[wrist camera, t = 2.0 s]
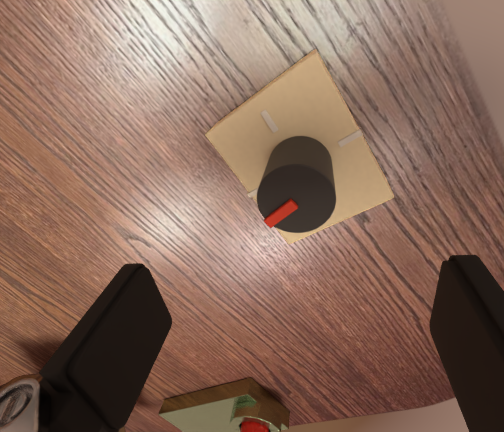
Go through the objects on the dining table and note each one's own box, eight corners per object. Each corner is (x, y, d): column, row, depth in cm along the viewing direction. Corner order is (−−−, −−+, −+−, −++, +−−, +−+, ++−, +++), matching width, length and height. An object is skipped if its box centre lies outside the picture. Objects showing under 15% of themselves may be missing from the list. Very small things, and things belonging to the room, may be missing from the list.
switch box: (258, 375, 38) (252, 408, 35) (297, 410, 41) (295, 444, 38) (164, 399, 47) (152, 427, 43) (201, 426, 50) (193, 455, 46)
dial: (302, 121, 17) (298, 149, 13) (345, 169, 18) (353, 208, 14) (255, 164, 19) (239, 200, 15) (296, 205, 20) (291, 248, 16)
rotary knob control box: (387, 177, 21) (397, 198, 18) (290, 223, 25) (287, 247, 22) (317, 46, 18) (317, 50, 15) (216, 123, 21) (202, 136, 19)
